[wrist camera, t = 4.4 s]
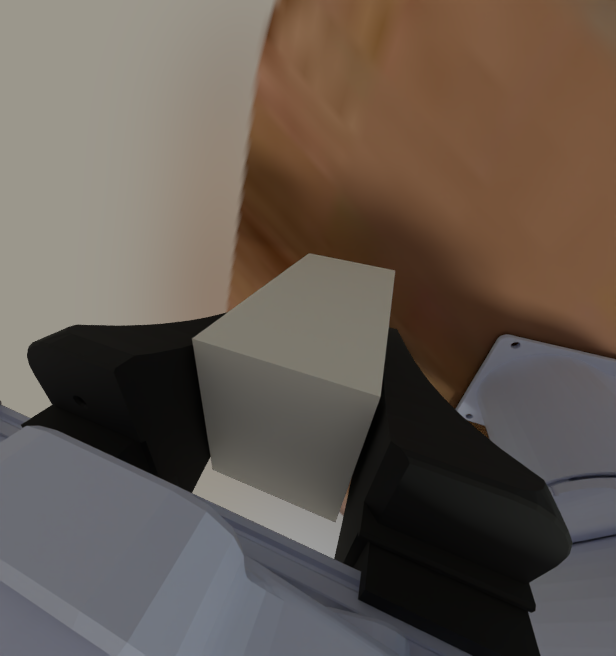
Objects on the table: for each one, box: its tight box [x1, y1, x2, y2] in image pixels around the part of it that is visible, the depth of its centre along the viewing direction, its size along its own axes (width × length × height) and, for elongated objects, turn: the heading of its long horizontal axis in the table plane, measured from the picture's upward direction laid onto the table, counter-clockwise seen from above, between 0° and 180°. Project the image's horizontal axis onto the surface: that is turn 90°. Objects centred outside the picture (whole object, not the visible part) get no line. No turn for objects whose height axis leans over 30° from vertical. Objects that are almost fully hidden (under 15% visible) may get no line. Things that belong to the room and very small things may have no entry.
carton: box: [192, 253, 395, 522], centre depth 10 cm, size 4×5×8 cm
